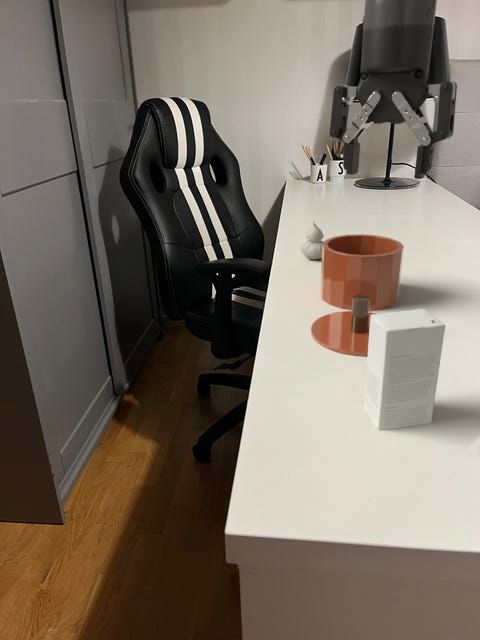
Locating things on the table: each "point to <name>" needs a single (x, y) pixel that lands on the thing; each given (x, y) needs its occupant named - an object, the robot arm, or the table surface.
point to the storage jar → (361, 270)
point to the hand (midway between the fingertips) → (384, 175)
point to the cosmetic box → (402, 368)
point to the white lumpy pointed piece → (313, 243)
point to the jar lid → (345, 328)
